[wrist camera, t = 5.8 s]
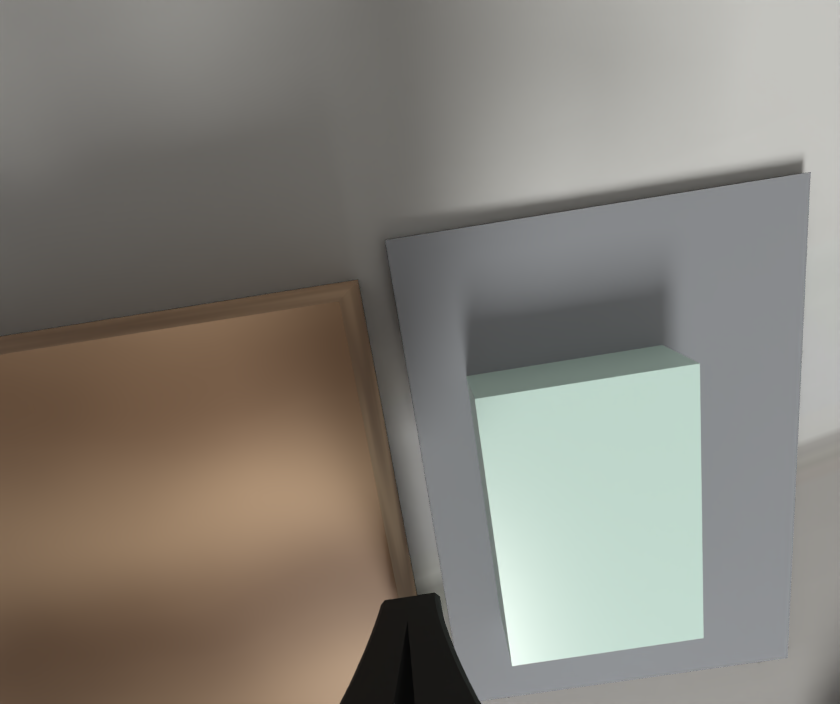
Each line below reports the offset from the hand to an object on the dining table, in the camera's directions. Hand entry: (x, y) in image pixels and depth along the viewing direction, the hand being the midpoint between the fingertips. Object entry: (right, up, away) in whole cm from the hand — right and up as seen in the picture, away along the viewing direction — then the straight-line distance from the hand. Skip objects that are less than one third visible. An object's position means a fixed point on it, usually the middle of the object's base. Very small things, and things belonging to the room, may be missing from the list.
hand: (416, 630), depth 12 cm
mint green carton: (+5, +2, +2) cm, 6 cm away
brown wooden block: (-6, 0, +5) cm, 8 cm away
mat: (+6, +3, +4) cm, 8 cm away
